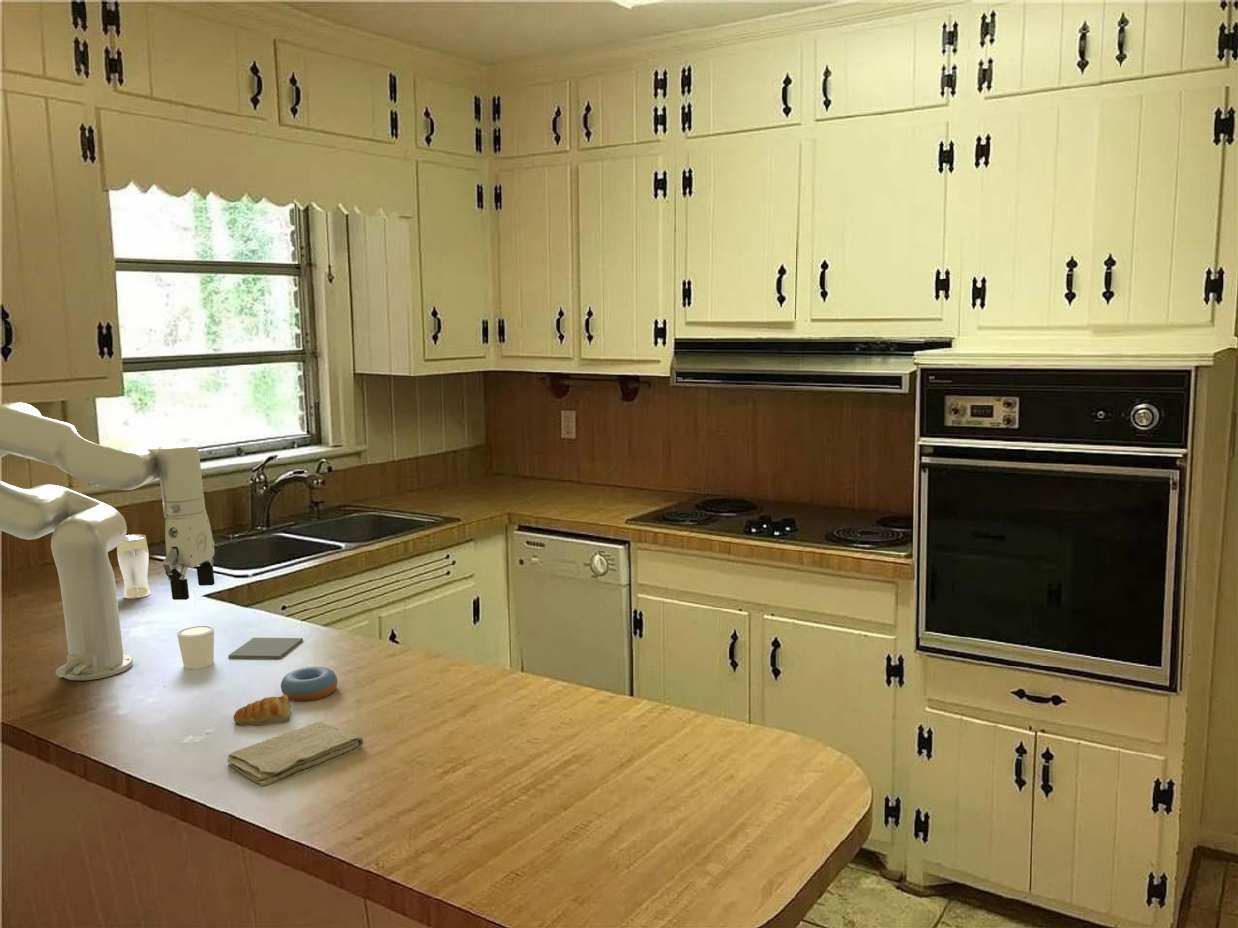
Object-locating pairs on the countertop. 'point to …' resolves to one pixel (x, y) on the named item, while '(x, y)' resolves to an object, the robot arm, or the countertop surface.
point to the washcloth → (292, 753)
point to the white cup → (197, 646)
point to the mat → (266, 648)
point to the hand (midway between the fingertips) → (194, 591)
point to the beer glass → (134, 565)
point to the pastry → (264, 712)
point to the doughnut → (309, 683)
